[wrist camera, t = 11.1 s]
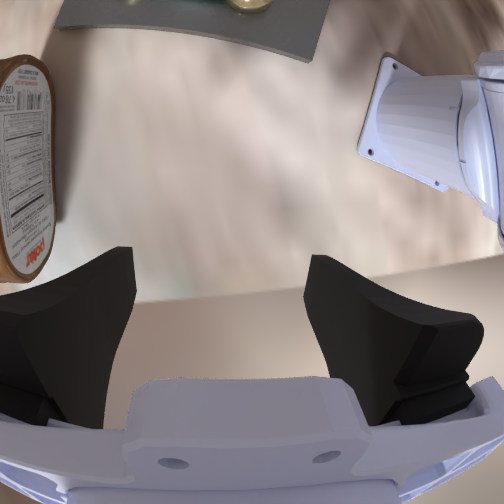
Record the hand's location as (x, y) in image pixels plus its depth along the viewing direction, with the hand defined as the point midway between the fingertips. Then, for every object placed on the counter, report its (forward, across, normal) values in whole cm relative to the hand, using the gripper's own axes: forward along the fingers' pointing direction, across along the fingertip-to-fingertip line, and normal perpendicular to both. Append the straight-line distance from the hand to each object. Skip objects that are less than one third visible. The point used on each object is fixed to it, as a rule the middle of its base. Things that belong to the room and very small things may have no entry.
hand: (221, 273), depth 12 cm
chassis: (+9, +3, -18) cm, 20 cm away
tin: (+10, +14, -3) cm, 17 cm away
